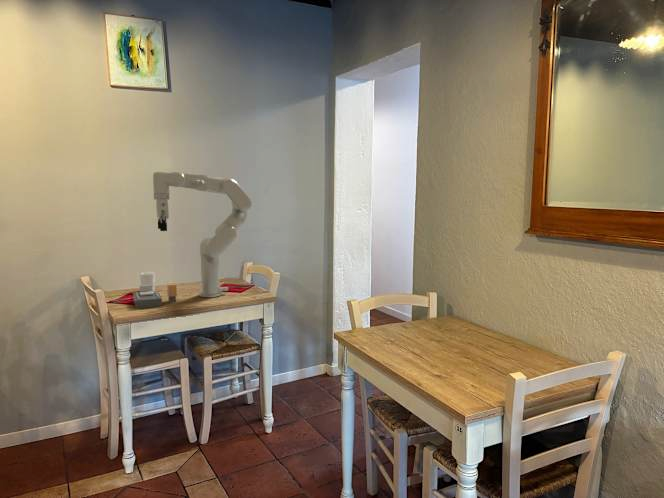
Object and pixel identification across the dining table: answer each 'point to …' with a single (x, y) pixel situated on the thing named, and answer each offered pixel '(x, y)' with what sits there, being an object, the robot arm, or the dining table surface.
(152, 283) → the white cup
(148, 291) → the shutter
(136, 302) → the grey sliding cover box
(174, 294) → the tan rectangular block
